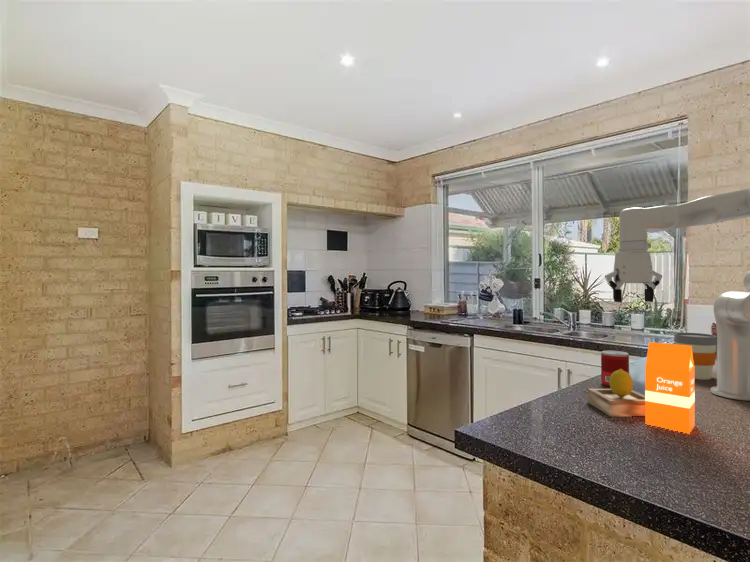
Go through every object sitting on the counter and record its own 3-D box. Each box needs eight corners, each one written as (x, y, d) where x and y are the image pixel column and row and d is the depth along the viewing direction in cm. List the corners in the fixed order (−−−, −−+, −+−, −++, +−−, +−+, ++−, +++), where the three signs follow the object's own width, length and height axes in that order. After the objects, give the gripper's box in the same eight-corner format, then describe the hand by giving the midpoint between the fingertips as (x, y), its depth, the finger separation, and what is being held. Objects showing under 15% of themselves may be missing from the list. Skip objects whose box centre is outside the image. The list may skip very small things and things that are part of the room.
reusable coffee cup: (697, 381, 142) (697, 338, 142) (665, 373, 154) (665, 333, 154) (727, 379, 145) (727, 336, 144) (692, 371, 157) (692, 332, 157)
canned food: (632, 388, 134) (632, 354, 134) (605, 387, 136) (605, 354, 135) (623, 382, 141) (623, 350, 141) (598, 381, 143) (598, 350, 143)
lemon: (629, 396, 116) (629, 367, 116) (635, 401, 110) (635, 371, 110) (607, 394, 117) (607, 366, 117) (612, 400, 112) (611, 370, 112)
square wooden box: (630, 402, 120) (630, 388, 120) (657, 416, 108) (657, 401, 108) (587, 402, 120) (587, 388, 120) (610, 416, 108) (610, 401, 108)
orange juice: (652, 417, 107) (652, 340, 107) (695, 425, 101) (695, 343, 101) (644, 425, 102) (644, 343, 101) (689, 434, 95) (689, 348, 95)
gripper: (653, 248, 134) (653, 300, 135) (599, 248, 135) (599, 301, 135) (669, 246, 127) (669, 302, 127) (611, 247, 127) (612, 302, 128)
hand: (633, 301), depth 131 cm, fingers open, 9 cm apart
